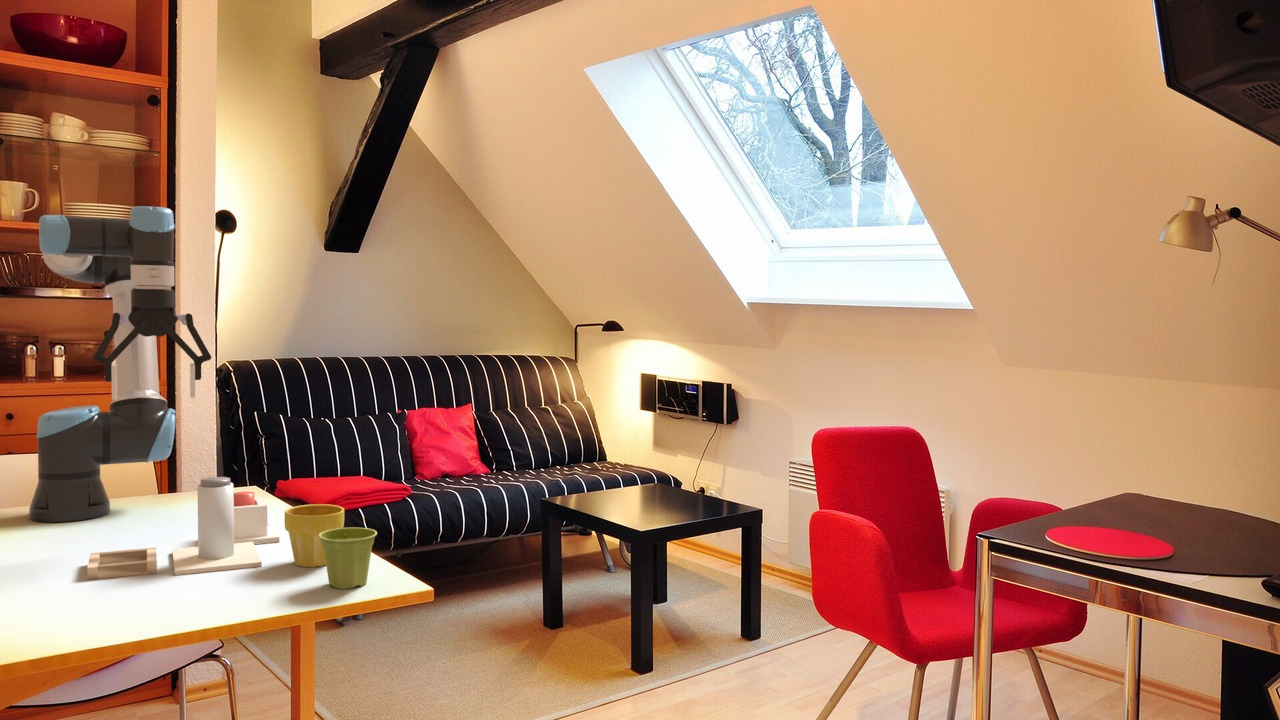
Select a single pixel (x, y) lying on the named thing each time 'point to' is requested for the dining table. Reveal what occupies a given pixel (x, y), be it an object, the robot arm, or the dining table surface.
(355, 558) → the plant pot
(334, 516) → the plant pot
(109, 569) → the socket
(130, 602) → the dining table surface
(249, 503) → the latch button
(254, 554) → the sand mat
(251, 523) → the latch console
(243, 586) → the dining table surface
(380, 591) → the dining table surface
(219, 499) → the filter cartridge
